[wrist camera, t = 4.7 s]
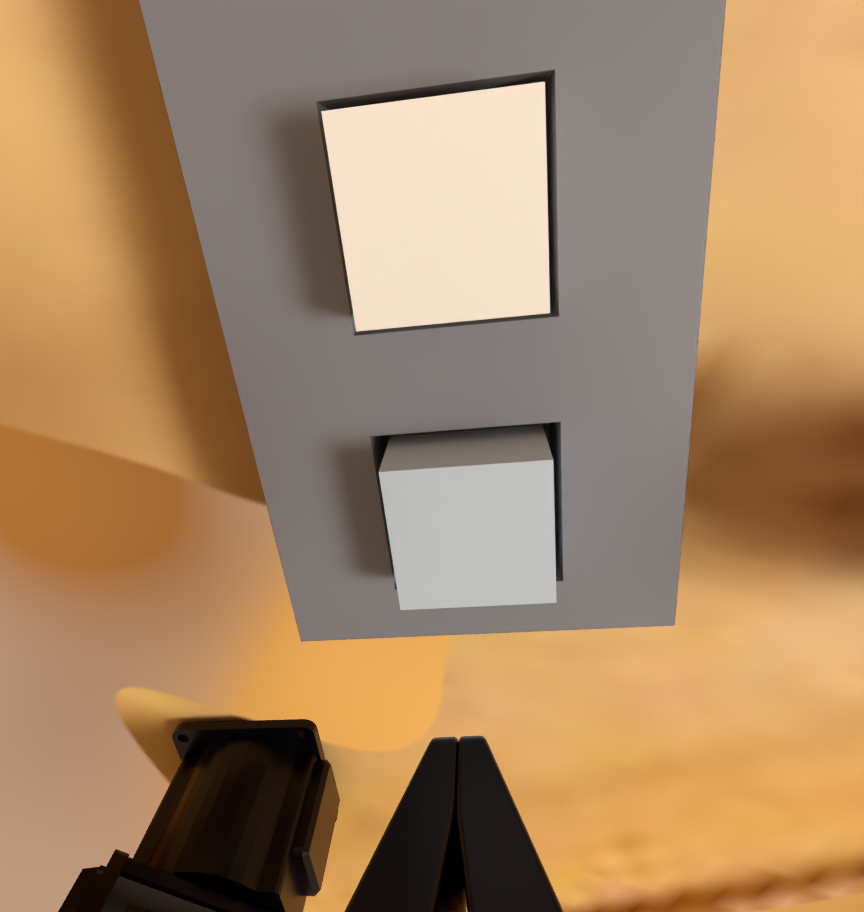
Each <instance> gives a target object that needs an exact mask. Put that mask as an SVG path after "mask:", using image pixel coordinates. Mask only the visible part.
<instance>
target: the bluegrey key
mask: <svg viewBox="0 0 864 912" xmlns="http://www.w3.org/2000/svg"><path fill="white" fill-rule="evenodd" d="M379 478H380V484H381V490H382V497H383V503H384V509H385V516H386V522H387V528H388V535H389V541H390V547H391V553H392V560H393V566H394V572H395V579H396V585H397V591H398V597H399V604H400V610H415V609H436V608H458V607H479V606H500V605H521V604H542V603H557V599H556V554H555V509H554V464H553V457H552V454H551V451H550V448H549V444H548V441H547V438H546V435H545V432H544V429H543V426H542V425H530V426H517V427H504V428H491V429H478V430H465V431H452V432H439V433H426V434H413V435H400V436H390V438H389V441H388V445H387V448H386V451H385V454H384V457H383V460H382V463H381V466H380V469H379Z"/></svg>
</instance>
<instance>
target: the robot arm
mask: <svg viewBox="0 0 864 912" xmlns="http://www.w3.org/2000/svg"><path fill="white" fill-rule="evenodd" d="M172 738H173V741H174V743H175V746H176V748H177V751H178V753H179V756H180V758H181V761H182V762H181V764H180V766H179V768H178V770H177V772H176V774H175V776H174V778H173V780H172V782H171V784H170V786H169V788H168V790H167V792H166V794H165V796H164V798H163V800H162V801H161V803H160V805H159V807H158V810H157V811H156V813H155V815H154V817H153V819H152V821H151V823H150V825H149V827H148V829H147V831H146V833H145V835H144V837H143V839H142V841H141V843H140V845H139V847H138V849H137V851H136V853H135V855H134V857H133V859H132V858H129V854H128V853H125V852H122V851H120V850H117V849H116V850H115V851H114V854H113V855H112V857H111V859H110V861H109V863H108V864H107V866H106V867H105V866H102V865H101V866H100V867H94V868H86V869H82V871H81V873H80V875H79V877H78V878H77V880H76V882H75V883H74V885H73V887H72V889H71V890H70V892H69V894H68V896H67V897H66V900H65V901H64V903H63V905H62V906H61V908H60V910H59V911H58V912H303V909H304V905H305V901H306V896H315V895H316V894H317V893H318V892H319V891H320V890H321V886H322V881H323V876H324V872H325V867H326V862H327V858H328V853H329V848H330V844H331V839H332V834H333V829H334V825H335V822H336V820H337V815H338V806H339V801H340V799H339V795H338V791H337V787H336V783H335V779H334V775H333V771H332V767H331V764H330V763H329V762H328V761H327V760H325V757H324V753H323V749H322V745H321V741H320V737H319V733H318V730H317V726H316V725H315V723H313V722H312V721H310V720H305V719H297V720H265V721H229V722H195V723H181V724H179V725H178V726H177V727H176V729H175V731H174V733H173V735H172ZM466 906H467V911H468V912H563V910H562V907H561V905H560V903H559V901H558V898H557V896H556V894H555V892H554V890H553V887H552V885H551V883H550V881H549V878H548V876H547V874H546V872H545V870H544V867H543V865H542V863H541V861H540V858H539V856H538V854H537V852H536V850H535V847H534V845H533V843H532V841H531V838H530V836H529V834H528V832H527V829H526V827H525V825H524V823H523V821H522V818H521V816H520V814H519V812H518V809H517V807H516V805H515V803H514V801H513V798H512V796H511V794H510V792H509V789H508V787H507V785H506V783H505V781H504V778H503V776H502V774H501V772H500V769H499V767H498V765H497V763H496V761H495V758H494V756H493V754H492V752H491V749H490V747H489V745H488V743H487V741H486V739H485V738H484V737H483V736H463V737H461V738H460V739H459V741H458V739H457V738H455V737H439V738H434V739H432V740H431V742H430V743H429V745H428V747H427V749H426V751H425V753H424V755H423V757H422V759H421V761H420V763H419V765H418V767H417V769H416V771H415V773H414V775H413V777H412V779H411V781H410V783H409V785H408V787H407V789H406V791H405V793H404V795H403V797H402V799H401V801H400V803H399V805H398V807H397V809H396V811H395V813H394V815H393V817H392V819H391V821H390V823H389V825H388V827H387V829H386V831H385V833H384V835H383V837H382V839H381V841H380V843H379V845H378V846H377V848H376V850H375V852H374V854H373V856H372V858H371V860H370V862H369V864H368V866H367V868H366V870H365V872H364V874H363V876H362V878H361V880H360V882H359V884H358V886H357V888H356V890H355V892H354V894H353V896H352V898H351V900H350V902H349V904H348V906H347V908H346V910H345V912H466Z"/></svg>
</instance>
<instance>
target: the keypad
mask: <svg viewBox="0 0 864 912" xmlns="http://www.w3.org/2000/svg"><path fill="white" fill-rule="evenodd" d="M139 3H140V7H141V11H142V15H143V19H144V23H145V27H146V31H147V35H148V38H149V42H150V46H151V50H152V54H153V58H154V62H155V66H156V70H157V74H158V78H159V82H160V86H161V90H162V94H163V98H164V102H165V106H166V110H167V114H168V118H169V121H170V125H171V129H172V133H173V137H174V141H175V145H176V149H177V153H178V157H179V161H180V165H181V169H182V173H183V177H184V181H185V185H186V189H187V193H188V197H189V200H190V204H191V208H192V212H193V216H194V220H195V224H196V228H197V232H198V236H199V240H200V244H201V248H202V252H203V256H204V260H205V264H206V268H207V272H208V276H209V280H210V283H211V287H212V291H213V295H214V299H215V303H216V307H217V311H218V315H219V319H220V323H221V327H222V331H223V335H224V339H225V343H226V347H227V351H228V355H229V359H230V362H231V366H232V370H233V374H234V378H235V382H236V386H237V390H238V394H239V398H240V402H241V406H242V410H243V414H244V418H245V422H246V426H247V430H248V434H249V438H250V442H251V445H252V449H253V453H254V457H255V461H256V465H257V469H258V473H259V477H260V481H261V485H262V489H263V493H264V497H265V501H266V505H267V509H268V512H269V516H270V521H271V524H272V528H273V532H274V536H275V540H276V544H277V548H278V552H279V556H280V560H281V564H282V568H283V572H284V576H285V580H286V583H287V588H288V592H289V595H290V599H291V604H292V607H293V611H294V615H295V619H296V623H297V627H298V631H299V635H300V639H301V641H323V640H346V639H369V638H391V637H392V638H393V637H416V636H436V635H437V636H438V635H463V634H486V633H509V632H533V631H556V630H579V629H603V628H626V627H649V626H673V625H675V616H676V604H677V591H678V579H679V567H680V555H681V543H682V531H683V518H684V506H685V494H686V482H687V470H688V458H689V445H690V433H691V421H692V409H693V397H694V385H695V372H696V360H697V348H698V336H699V324H700V312H701V300H702V287H703V275H704V263H705V251H706V239H707V227H708V214H709V202H710V190H711V178H712V166H713V154H714V141H715V129H716V117H717V105H718V93H719V81H720V68H721V56H722V44H723V32H724V20H725V8H726V0H139ZM538 82H545V104H546V149H547V194H548V239H549V284H550V313H546V314H536V315H525V316H515V317H504V318H494V319H483V320H472V321H462V322H451V323H441V324H430V325H420V326H409V327H399V328H388V329H378V330H367V331H356V327H355V321H354V314H353V308H352V302H351V296H350V289H349V283H348V277H347V270H346V264H345V258H344V252H343V245H342V239H341V233H340V226H339V220H338V214H337V208H336V201H335V195H334V189H333V182H332V176H331V170H330V164H329V157H328V151H327V145H326V138H325V132H324V126H323V120H322V113H321V111H327V110H334V109H342V108H349V107H357V106H364V105H372V104H380V103H387V102H395V101H402V100H410V99H417V98H425V97H432V96H440V95H447V94H455V93H462V92H470V91H477V90H485V89H492V88H500V87H508V86H515V85H523V84H530V83H538ZM530 425H542V426H543V429H544V432H545V435H546V438H547V441H548V444H549V448H550V451H551V454H552V457H553V464H554V509H555V554H556V599H557V603H542V604H521V605H500V606H479V607H458V608H436V609H415V610H400V604H399V597H398V591H397V585H396V579H395V572H394V566H393V560H392V553H391V547H390V541H389V535H388V528H387V522H386V516H385V509H384V503H383V497H382V490H381V484H380V478H379V469H380V466H381V463H382V460H383V457H384V454H385V451H386V448H387V445H388V441H389V438H390V436H400V435H413V434H426V433H439V432H452V431H465V430H478V429H491V428H504V427H517V426H530Z"/></svg>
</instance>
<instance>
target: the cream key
mask: <svg viewBox="0 0 864 912" xmlns="http://www.w3.org/2000/svg"><path fill="white" fill-rule="evenodd" d="M321 113H322V120H323V126H324V132H325V138H326V145H327V151H328V157H329V164H330V170H331V176H332V182H333V189H334V195H335V201H336V208H337V214H338V220H339V226H340V233H341V239H342V245H343V252H344V258H345V264H346V270H347V277H348V283H349V289H350V296H351V302H352V308H353V314H354V321H355V327H356V331H367V330H378V329H388V328H399V327H409V326H420V325H430V324H441V323H451V322H462V321H472V320H483V319H494V318H504V317H515V316H525V315H536V314H546V313H550V284H549V239H548V194H547V149H546V104H545V82H538V83H530V84H523V85H515V86H508V87H500V88H492V89H485V90H477V91H470V92H462V93H455V94H447V95H440V96H432V97H425V98H417V99H410V100H402V101H395V102H387V103H380V104H372V105H364V106H357V107H349V108H342V109H334V110H327V111H321Z"/></svg>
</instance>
